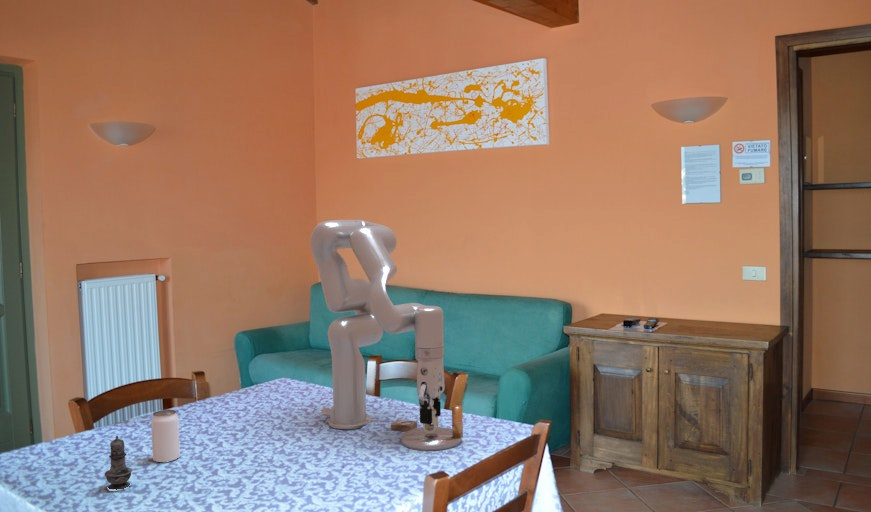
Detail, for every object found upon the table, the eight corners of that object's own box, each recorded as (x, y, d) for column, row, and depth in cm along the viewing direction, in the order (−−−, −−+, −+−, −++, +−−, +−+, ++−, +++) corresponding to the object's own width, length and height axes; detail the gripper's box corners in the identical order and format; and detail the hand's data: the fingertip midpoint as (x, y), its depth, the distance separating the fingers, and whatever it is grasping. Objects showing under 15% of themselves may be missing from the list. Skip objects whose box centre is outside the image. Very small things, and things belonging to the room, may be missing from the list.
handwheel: (437, 455, 179) (436, 418, 179) (388, 443, 189) (388, 408, 188) (473, 438, 192) (472, 404, 192) (426, 428, 202) (425, 395, 201)
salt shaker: (110, 482, 167) (108, 432, 166) (136, 481, 167) (134, 431, 166) (100, 492, 161) (98, 440, 160) (128, 491, 161) (125, 438, 160)
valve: (444, 427, 193) (443, 383, 193) (442, 435, 187) (441, 389, 186) (419, 427, 194) (419, 383, 193) (416, 434, 188) (416, 389, 187)
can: (185, 456, 185) (183, 410, 184) (168, 464, 178) (166, 416, 178) (164, 453, 187) (162, 408, 186) (147, 461, 181) (145, 415, 180)
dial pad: (391, 432, 201) (390, 423, 201) (397, 427, 206) (397, 418, 206) (411, 434, 199) (411, 425, 199) (417, 429, 204) (416, 420, 204)
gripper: (433, 360, 180) (434, 430, 181) (452, 347, 196) (453, 411, 197) (405, 358, 182) (406, 427, 183) (426, 346, 199) (427, 409, 200)
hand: (430, 418), depth 190 cm, fingers closed on valve, 6 cm apart
